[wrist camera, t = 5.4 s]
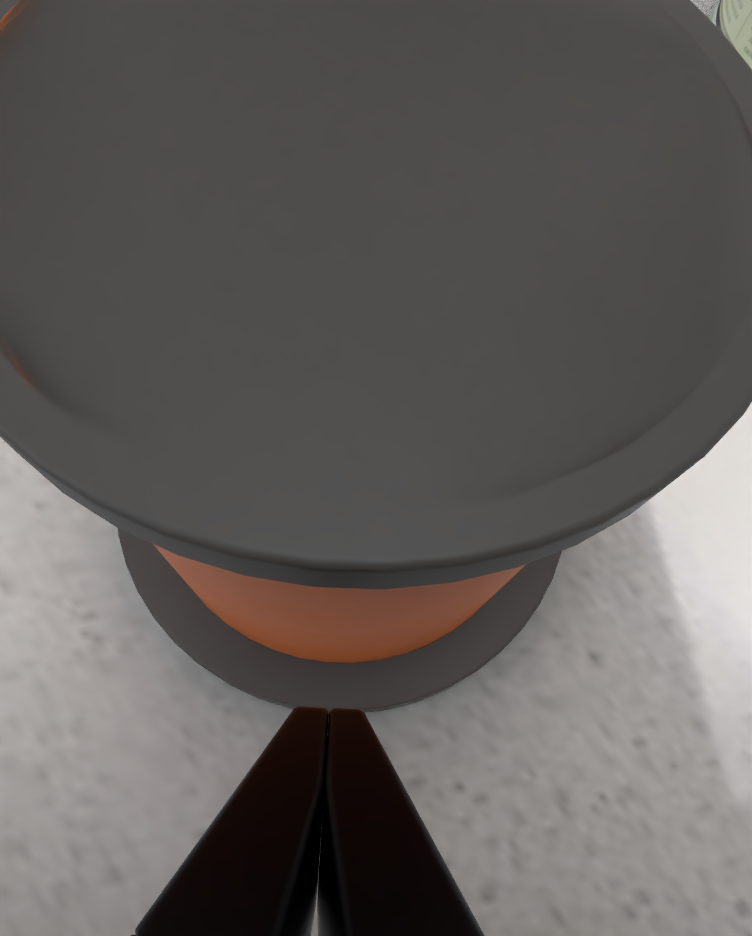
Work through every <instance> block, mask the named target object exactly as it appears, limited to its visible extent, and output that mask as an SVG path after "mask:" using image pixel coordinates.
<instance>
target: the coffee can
mask: <svg viewBox="0 0 752 936" xmlns="http://www.w3.org/2000/svg"><path fill="white" fill-rule="evenodd" d="M709 20H710V21H711V22H712V23H714V24H715V25H716V26H717V27H718V28H719V29H720V31H721V32H722V33H723V34H724V35H725V37H726V38H727V39H728V40H729V42H730V43H731V44H732V45H733V47H734V48H735V49H736V50H737V52H738V53H739V54H740V55H741V56H742V58H743V59H744V60H745V61H746V63H747V64H748V65H749V67H750V69H751V70H752V0H719V1H718V3H717V4H716V6H715V7H714V9H713V11H712V13H711V15H710V17H709Z"/></svg>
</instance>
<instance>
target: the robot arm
mask: <svg viewBox="0 0 752 936" xmlns="http://www.w3.org/2000/svg"><path fill="white" fill-rule="evenodd" d="M328 716H329V721H328ZM327 733H328V735H327ZM321 827H322V829H321ZM320 842H321V846H320ZM319 857H320V862H319ZM318 872H319V879H318ZM317 886H318V936H484V934H483V932H482V931H481V929H480V927H479V925H478V923H477V921H476V919H475V918H474V916H473V914H472V912H471V910H470V908H469V906H468V905H467V903H466V901H465V899H464V897H463V895H462V893H461V892H460V890H459V888H458V886H457V884H456V882H455V880H454V879H453V877H452V875H451V873H450V871H449V869H448V867H447V866H446V864H445V862H444V860H443V858H442V856H441V854H440V853H439V851H438V849H437V847H436V845H435V843H434V841H433V840H432V838H431V836H430V834H429V832H428V830H427V829H426V827H425V825H424V823H423V821H422V819H421V817H420V816H419V814H418V812H417V810H416V808H415V806H414V804H413V803H412V801H411V799H410V797H409V795H408V793H407V791H406V790H405V788H404V786H403V784H402V782H401V780H400V778H399V777H398V775H397V773H396V771H395V769H394V767H393V765H392V764H391V762H390V760H389V758H388V756H387V754H386V752H385V751H384V749H383V747H382V745H381V743H380V741H379V739H378V738H377V736H376V734H375V732H374V730H373V728H372V726H371V725H370V723H369V721H368V719H367V717H366V715H365V714H364V712H363V711H361V710H359V709H345V708H333V709H332V710H331V711H330V712H329V714H328V710H327V709H326V708H323V707H303V706H300V707H297V708H295V709H294V710H293V711H292V712H291V714H290V715H289V717H288V718H287V719H286V721H285V722H284V724H283V725H282V726H281V728H280V729H279V730H278V732H277V733H276V735H275V736H274V737H273V739H272V740H271V742H270V743H269V744H268V746H267V747H266V748H265V750H264V751H263V753H262V754H261V755H260V757H259V758H258V760H257V761H256V762H255V764H254V765H253V766H252V768H251V769H250V771H249V772H248V773H247V775H246V776H245V778H244V779H243V780H242V782H241V783H240V785H239V786H238V787H237V789H236V790H235V791H234V793H233V794H232V796H231V797H230V798H229V800H228V801H227V803H226V804H225V805H224V807H223V808H222V809H221V811H220V812H219V814H218V815H217V816H216V818H215V819H214V821H213V822H212V823H211V825H210V826H209V827H208V829H207V830H206V832H205V833H204V834H203V836H202V837H201V839H200V840H199V841H198V843H197V844H196V846H195V847H194V848H193V850H192V851H191V852H190V854H189V855H188V857H187V858H186V859H185V861H184V862H183V864H182V865H181V866H180V868H179V869H178V870H177V872H176V873H175V875H174V876H173V877H172V879H171V880H170V882H169V883H168V884H167V886H166V887H165V888H164V890H163V891H162V893H161V894H160V895H159V897H158V898H157V900H156V901H155V902H154V904H153V905H152V907H151V908H150V909H149V911H148V912H147V913H146V915H145V916H144V918H143V919H142V920H141V922H140V923H139V925H138V926H137V927H136V930H135V935H131V936H311V931H312V925H313V919H314V912H315V906H316V896H317Z"/></svg>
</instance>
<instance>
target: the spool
mask: <svg viewBox="0 0 752 936" xmlns="http://www.w3.org/2000/svg"><path fill="white" fill-rule="evenodd" d="M751 402H752V70H751V69H750V67H749V65H748V64H747V63H746V61H745V60H744V59H743V58H742V56H741V55H740V54H739V53H738V52H737V50H736V49H735V48H734V47H733V45H732V44H731V43H730V42H729V40H728V39H727V38H726V37H725V35H724V34H723V33H722V32H721V31H720V29H719V28H718V27H717V26H716V25H715V24H714V23H712V22H711V21H710V20H709V19H708V18H707V17H706V16H705V15H704V14H703V13H702V12H701V11H700V10H699V9H698V8H697V7H696V6H695V5H694V4H693V3H692V2H691V1H690V0H0V437H1V438H2V439H3V440H4V441H5V442H6V443H8V444H9V445H10V446H11V447H12V448H13V449H14V450H15V451H16V452H17V453H18V454H19V455H20V456H22V457H23V458H24V459H25V460H26V461H27V462H28V463H30V464H31V465H32V466H33V467H34V468H35V469H36V470H38V471H39V472H40V473H41V474H42V475H43V476H44V477H46V478H47V479H48V480H49V481H50V482H51V483H52V484H54V485H55V486H56V487H57V488H58V489H59V490H61V491H62V492H63V493H64V494H66V495H67V496H69V497H70V498H72V499H74V500H75V501H77V502H78V503H80V504H81V505H83V506H85V507H86V508H88V509H89V510H91V511H92V512H94V513H95V514H97V515H99V516H100V517H102V518H103V519H105V520H106V521H108V522H110V523H111V524H113V525H114V526H116V527H117V528H118V534H119V539H120V543H121V546H122V550H123V554H124V558H125V562H126V565H127V567H128V569H129V572H130V574H131V577H132V579H133V581H134V584H135V586H136V588H137V591H138V593H139V594H140V596H141V597H142V599H143V601H144V602H145V604H146V606H147V607H148V609H149V610H150V612H151V614H152V615H153V617H154V618H155V620H156V621H157V622H158V623H159V624H160V626H161V627H162V628H163V629H164V630H165V632H166V633H167V634H168V635H169V636H170V637H171V639H172V640H173V641H174V642H175V643H176V644H177V645H178V646H179V647H180V648H182V649H183V650H184V651H185V652H186V653H187V654H188V655H189V656H191V657H192V658H193V659H194V660H195V661H196V662H197V663H198V664H200V665H201V666H203V667H204V668H206V669H208V670H209V671H211V672H212V673H214V674H215V675H217V676H218V677H220V678H221V679H223V680H224V681H226V682H227V683H229V684H230V685H232V686H234V687H236V688H238V689H240V690H243V691H245V692H247V693H249V694H251V695H253V696H255V697H257V698H260V699H263V700H266V701H269V702H272V703H276V704H279V705H282V706H285V707H288V708H294V709H295V708H297V707H300V706H303V707H323V708H326V709H327V710H328V713H329V712H330V711H331V710H332V709H333V708H345V709H359V710H361V711H363V712H372V711H381V710H387V709H390V708H394V707H398V706H402V705H406V704H410V703H414V702H416V701H419V700H421V699H424V698H426V697H428V696H431V695H433V694H436V693H438V692H440V691H443V690H445V689H447V688H449V687H450V686H452V685H454V684H455V683H457V682H459V681H460V680H462V679H464V678H466V677H467V676H469V675H471V674H472V673H474V672H476V671H477V670H479V669H480V668H481V667H482V666H484V665H485V664H486V663H487V662H489V661H490V660H491V659H492V658H494V657H495V656H496V655H497V654H499V653H500V652H501V651H502V650H503V649H504V648H505V647H506V646H507V645H508V644H509V643H510V641H511V640H512V639H513V638H514V637H515V636H516V635H517V634H518V633H519V632H520V631H521V630H522V629H523V627H524V626H525V624H526V623H527V621H528V620H529V619H530V617H531V616H532V614H533V613H534V611H535V610H536V609H537V607H538V606H539V604H540V602H541V600H542V598H543V596H544V594H545V592H546V590H547V588H548V586H549V585H550V583H551V581H552V579H553V576H554V573H555V570H556V567H557V564H558V561H559V558H560V555H561V552H562V550H564V549H567V548H569V547H572V546H574V545H577V544H579V543H580V542H582V541H584V540H586V539H588V538H589V537H591V536H593V535H595V534H597V533H598V532H600V531H602V530H604V529H605V528H607V527H609V526H611V525H613V524H614V523H616V522H618V521H620V520H621V519H623V518H625V517H627V516H629V515H630V514H631V513H633V512H634V511H635V510H636V509H638V508H639V507H640V506H642V505H643V504H644V503H645V502H647V501H648V500H649V499H651V498H652V497H653V496H654V495H656V494H657V493H658V492H660V491H661V490H662V489H663V488H665V487H666V486H667V485H669V484H670V483H671V482H672V481H674V480H675V479H676V478H678V477H679V476H680V475H681V474H683V473H684V472H685V471H686V470H688V469H689V468H690V467H692V466H693V465H694V464H695V463H697V462H698V461H699V460H700V459H702V458H703V457H704V456H705V455H706V454H707V453H708V452H709V451H710V450H711V449H712V448H713V447H714V446H715V445H716V443H717V442H718V441H719V440H720V439H721V438H722V437H723V436H724V435H725V434H726V433H727V432H728V430H729V429H730V428H731V427H732V426H733V425H734V424H735V423H736V422H737V421H738V420H739V419H740V418H741V416H742V415H743V414H744V413H745V411H746V410H747V408H748V407H749V405H750V403H751Z"/></svg>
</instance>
